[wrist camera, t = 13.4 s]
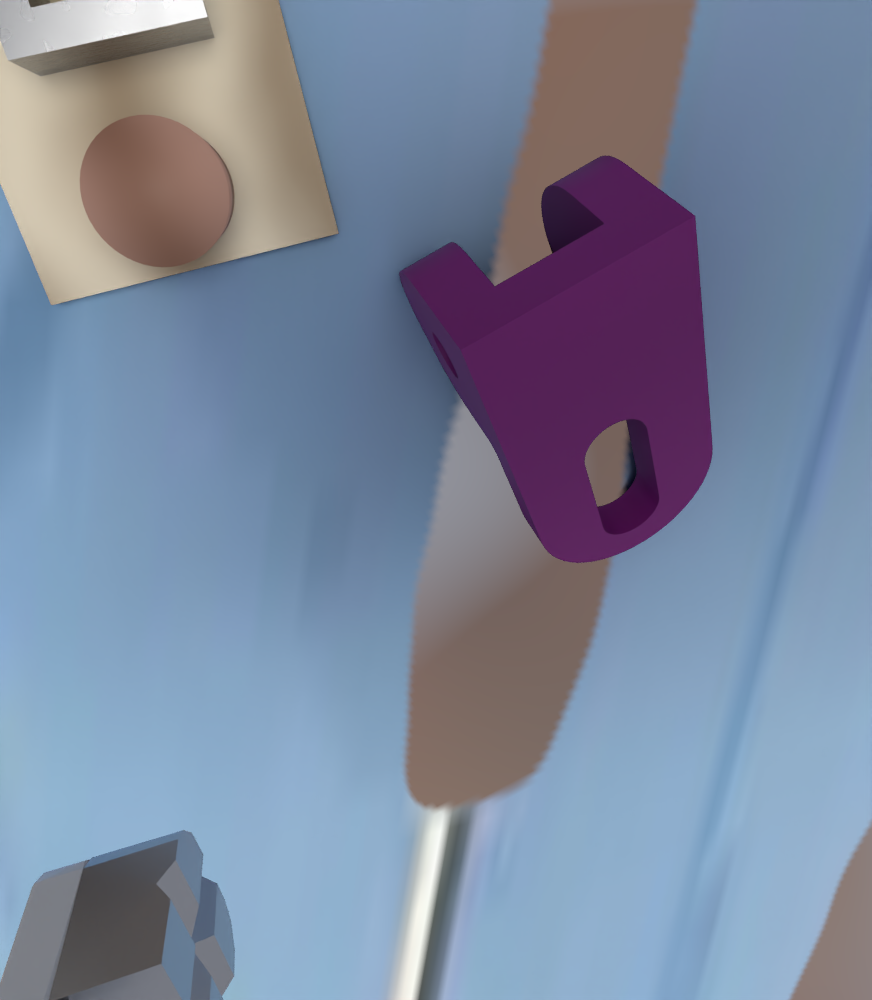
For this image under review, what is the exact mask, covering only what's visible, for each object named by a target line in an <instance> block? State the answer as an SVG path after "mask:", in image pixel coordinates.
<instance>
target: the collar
mask: <svg viewBox="0 0 872 1000" xmlns="http://www.w3.org/2000/svg"><path fill="white" fill-rule="evenodd" d="M212 38H214V34H213V31H212V27H211V24H210V20H209V17H208V14H207V10H206V7H205V3H204V0H64V1H59V2H55V3H51V2H50V0H0V41H1V44H2V46H3V49H4V52H5V54H6V57H7V59H8V61H10V62H12V63H14V64H16V65H18V66H20V67H22V68H24V69H26V70H28V71H31V72H33V73H35V74H37V75H39V76H45V75H49V74H54V73H58V72H63V71H67V70H72V69H76V68H81V67H85V66H90V65H94V64H99V63H103V62H108V61H112V60H117V59H122V58H126V57H131V56H135V55H140V54H144V53H149V52H153V51H158V50H162V49H167V48H171V47H176V46H180V45H185V44H189V43H194V42H198V41H203V40H207V39H212Z"/></svg>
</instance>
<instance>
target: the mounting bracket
mask: <svg viewBox="0 0 872 1000" xmlns="http://www.w3.org/2000/svg"><path fill="white" fill-rule="evenodd" d="M541 204H542V205H541V208H542V217H543V223H544V228H545V232H546V235H547V238H548V242H549V245H550V248H551V251H552V254H551V255H549V256H547V257H546V258H544V259H542V260H540V261H539V262H537V263H535V264H533V265H531V266H530V267H528V268H526V269H524V270H523V271H521V272H519V273H517V274H516V275H514V276H512V277H511V278H509V279H507V280H505V281H504V282H502V283H500V284H498V285H497V286H494V285H493V284H492V283H491V281H490V280H489V279H488V278H487V277H486V276H485V274H484V273H483V272H482V271H481V270H480V269H479V268H478V266H477V265H476V264H475V263H474V262H473V261H472V259H471V258H470V257H469V256H468V255H467V254H466V252H465V251H464V250H463V249H462V248H461V247H460V246H458V245H457V244H456V243H454V242H451V243H449V244H447V245H445V246H443V247H442V248H440V249H438V250H436V251H435V252H433V253H431V254H429V255H428V256H426V257H424V258H423V259H421V260H419V261H417V262H416V263H414V264H412V265H410V266H409V267H407V268H405V269H403V270H402V271H400V272H399V276H400V280H401V283H402V286H403V288H404V291H405V293H406V296H407V298H408V300H409V303H410V305H411V307H412V309H413V311H414V313H415V315H416V317H417V319H418V321H419V323H420V325H421V327H422V329H423V331H424V333H425V335H426V336H427V338H428V340H429V342H430V344H431V346H432V348H433V350H434V352H435V354H436V356H437V357H438V359H439V361H440V363H441V365H442V367H443V369H444V370H445V372H446V374H447V376H448V377H449V379H450V381H451V382H452V384H453V386H454V387H455V389H456V391H457V392H458V394H459V396H460V397H461V399H462V400H463V402H464V404H465V405H466V407H467V408H468V409H469V411H470V413H471V414H472V416H473V417H474V418H475V420H476V421H477V423H478V425H479V426H480V427H481V429H482V430H483V432H484V433H485V435H486V436H487V438H488V439H489V441H490V443H491V444H492V446H493V448H494V450H495V452H496V453H497V456H498V458H499V460H500V462H501V465H502V467H503V469H504V472H505V474H506V476H507V478H508V481H509V483H510V485H511V488H512V490H513V492H514V495H515V497H516V499H517V501H518V504H519V506H520V508H521V511H522V513H523V515H524V517H525V518H526V520H527V522H528V523H529V525H530V526H531V527H532V529H533V531H534V532H535V534H536V535H537V537H538V538H539V540H540V541H541V543H542V544H543V546H544V547H545V549H546V550H547V551H548V552H549V553H550V554H551V555H552V556H554V557H556V558H558V559H560V560H563V561H568V562H576V563H581V562H592V561H597V560H601V559H605V558H609V557H611V556H614V555H617V554H619V553H622V552H624V551H626V550H628V549H630V548H632V547H634V546H636V545H638V544H640V543H641V542H643V541H645V540H646V539H648V538H649V537H651V536H652V535H654V534H655V533H657V532H658V531H659V530H661V529H662V528H663V527H664V526H666V525H667V524H668V523H669V522H670V521H671V520H672V519H674V518H675V517H676V516H677V515H678V514H679V513H680V512H681V511H682V510H683V508H684V507H685V506H686V505H687V504H688V503H689V501H690V500H691V499H692V498H693V496H694V495H695V493H696V492H697V491H698V489H699V487H700V486H701V484H702V482H703V481H704V478H705V476H706V474H707V472H708V469H709V467H710V463H711V459H712V435H711V421H710V408H709V394H708V381H707V368H706V354H705V341H704V328H703V314H702V301H701V287H700V274H699V261H698V247H697V234H696V221H695V215H693V214H692V213H691V212H689V211H688V210H687V209H685V208H684V207H683V206H681V205H680V204H678V203H677V202H676V201H674V200H673V199H672V198H670V197H669V196H668V195H666V194H665V193H664V192H662V191H661V190H660V189H658V188H657V187H656V186H654V185H653V184H652V183H650V182H649V181H647V180H646V179H645V178H644V177H642V176H641V175H640V174H638V173H637V172H635V171H634V170H633V169H632V168H630V167H629V166H628V165H626V164H625V163H623V162H622V161H620V160H618V159H616V158H614V157H611V156H601V157H599V158H597V159H595V160H593V161H592V162H590V163H588V164H586V165H585V166H583V167H581V168H580V169H578V170H576V171H574V172H573V173H571V174H569V175H567V176H566V177H564V178H562V179H560V180H559V181H557V182H555V183H553V184H552V185H550V186H548V187H547V188H546V189H545V190H544V192H543V195H542V203H541ZM623 420H626V421H627V426H628V430H629V435H630V440H631V445H632V450H633V454H634V459H635V464H636V469H637V474H636V478H635V480H634V482H633V484H632V485H631V487H630V488H629V489H628V490H627V491H626V492H625V493H624V494H623V495H622V496H621V497H619V498H618V499H616V500H615V501H613V502H611V503H609V504H607V505H604V506H599V507H597V505H596V501H595V498H594V494H593V491H592V488H591V484H590V481H589V477H588V474H587V471H586V467H585V462H584V460H585V455H586V452H587V450H588V448H589V446H590V444H591V443H592V442H593V440H594V439H595V438H596V437H597V436H598V435H599V434H600V433H601V432H602V431H604V430H605V429H606V428H608V427H609V426H611V425H613V424H615V423H617V422H620V421H623Z"/></svg>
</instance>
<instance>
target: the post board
mask: <svg viewBox="0 0 872 1000" xmlns="http://www.w3.org/2000/svg"><path fill="white" fill-rule="evenodd" d="M59 1H64V0H50V2H51V3H55V2H59ZM204 3H205V7H206V10H207V14H208V17H209V20H210V24H211V27H212V31H213V34H214V38H212V39H207V40H203V41H198V42H194V43H189V44H185V45H180V46H176V47H171V48H167V49H162V50H158V51H153V52H149V53H144V54H140V55H135V56H131V57H126V58H122V59H117V60H112V61H108V62H103V63H99V64H94V65H90V66H85V67H81V68H76V69H72V70H67V71H63V72H58V73H54V74H49V75H45V76H39V75H37V74H35V73H33V72H31V71H28V70H26V69H24V68H22V67H20V66H18V65H16V64H14V63H12V62H10V61H8V59H7V57H6V54H5V52H4V49H3V46H2V44H1V41H0V184H1V186H2V189H3V191H4V193H5V196H6V198H7V201H8V203H9V205H10V208H11V210H12V212H13V215H14V217H15V220H16V222H17V224H18V227H19V229H20V232H21V234H22V236H23V239H24V241H25V243H26V246H27V248H28V251H29V253H30V255H31V258H32V260H33V263H34V265H35V267H36V270H37V272H38V274H39V277H40V279H41V282H42V284H43V286H44V289H45V291H46V294H47V296H48V298H49V301H50V303H51V305H54V304H58V303H62V302H66V301H70V300H74V299H78V298H82V297H86V296H90V295H94V294H98V293H102V292H106V291H110V290H114V289H118V288H122V287H126V286H131V285H135V284H139V283H143V282H147V281H151V280H155V279H159V278H163V277H167V276H171V275H175V274H179V273H183V272H187V271H191V270H195V269H199V268H203V267H207V266H211V265H215V264H219V263H223V262H227V261H231V260H235V259H239V258H243V257H247V256H251V255H255V254H259V253H263V252H267V251H271V250H275V249H279V248H283V247H287V246H291V245H295V244H299V243H303V242H307V241H311V240H315V239H319V238H323V237H327V236H331V235H335V234H339V233H338V229H337V225H336V221H335V218H334V214H333V210H332V206H331V202H330V198H329V194H328V190H327V187H326V183H325V179H324V175H323V171H322V167H321V163H320V159H319V156H318V152H317V148H316V144H315V140H314V136H313V132H312V128H311V125H310V121H309V117H308V113H307V109H306V105H305V101H304V97H303V94H302V90H301V86H300V82H299V78H298V74H297V70H296V66H295V63H294V59H293V55H292V51H291V47H290V43H289V39H288V35H287V31H286V28H285V24H284V20H283V16H282V12H281V8H280V4H279V0H204Z"/></svg>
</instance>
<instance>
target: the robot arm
mask: <svg viewBox="0 0 872 1000" xmlns="http://www.w3.org/2000/svg"><path fill="white" fill-rule="evenodd" d="M202 863H203V853H202V851H201V849H200V847H199V846H198V844H197V842H196V840H195V838H194V836H193V834H192V833H191V832H188V831H184V830H183V831H179V832H176V833H173V834H169V835H166V836H163V837H159V838H156V839H153V840H149V841H146V842H143V843H139V844H136V845H133V846H129V847H126V848H123V849H119V850H116V851H113V852H109V853H106V854H103V855H99V856H96V857H92V858H91V860H86V861H82V862H79V863H76V864H72V865H69V866H66V867H62V868H59V869H56V870H52V871H49V872H46V873H43V875H42V876H41V877H40V878H39V879H38V880H37V881H36V882H35V883H34V885H33V887H32V889H31V892H30V895H29V898H28V901H27V904H26V907H25V910H24V913H23V916H22V919H21V922H20V925H19V928H18V931H17V934H16V937H15V940H14V943H13V946H12V949H11V952H10V955H9V958H8V961H7V964H6V967H5V970H4V973H3V976H2V979H1V982H0V1000H223V998H222V995H223V994H224V992H225V990H226V989H227V987H228V985H229V984H230V982H231V980H232V979H233V977H234V959H235V948H234V941H233V933H232V925H231V919H230V916H229V913H228V909H227V906H226V903H225V899H224V897H223V895H222V893H221V891H220V889H219V886H218V884H217V883H215V882H213V881H211V880H209V879H206V878H204V877H202Z"/></svg>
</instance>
